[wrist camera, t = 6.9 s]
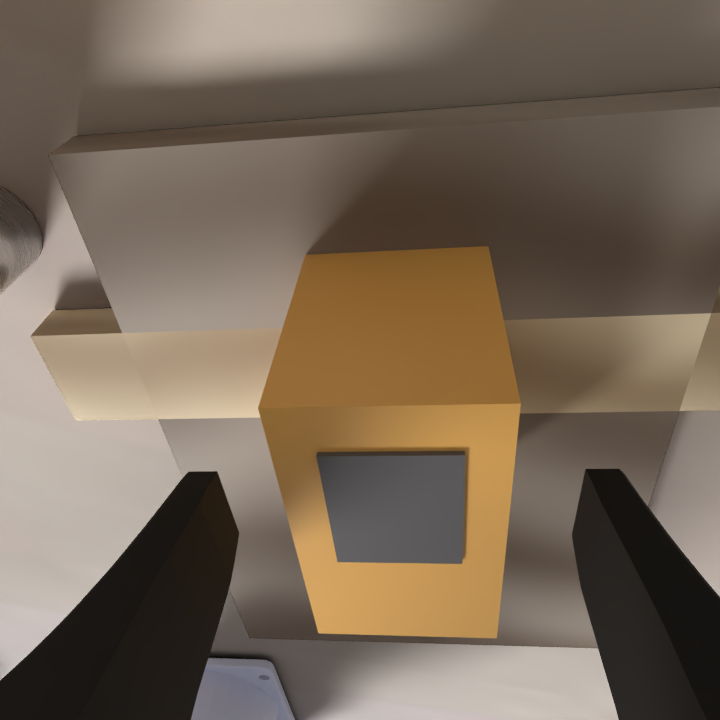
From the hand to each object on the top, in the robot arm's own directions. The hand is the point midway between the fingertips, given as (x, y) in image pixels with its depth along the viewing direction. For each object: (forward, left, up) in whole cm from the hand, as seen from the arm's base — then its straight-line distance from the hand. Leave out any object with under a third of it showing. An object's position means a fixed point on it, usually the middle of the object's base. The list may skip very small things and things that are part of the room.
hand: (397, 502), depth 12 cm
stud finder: (0, 0, -4) cm, 4 cm away
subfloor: (-4, 0, -5) cm, 7 cm away
